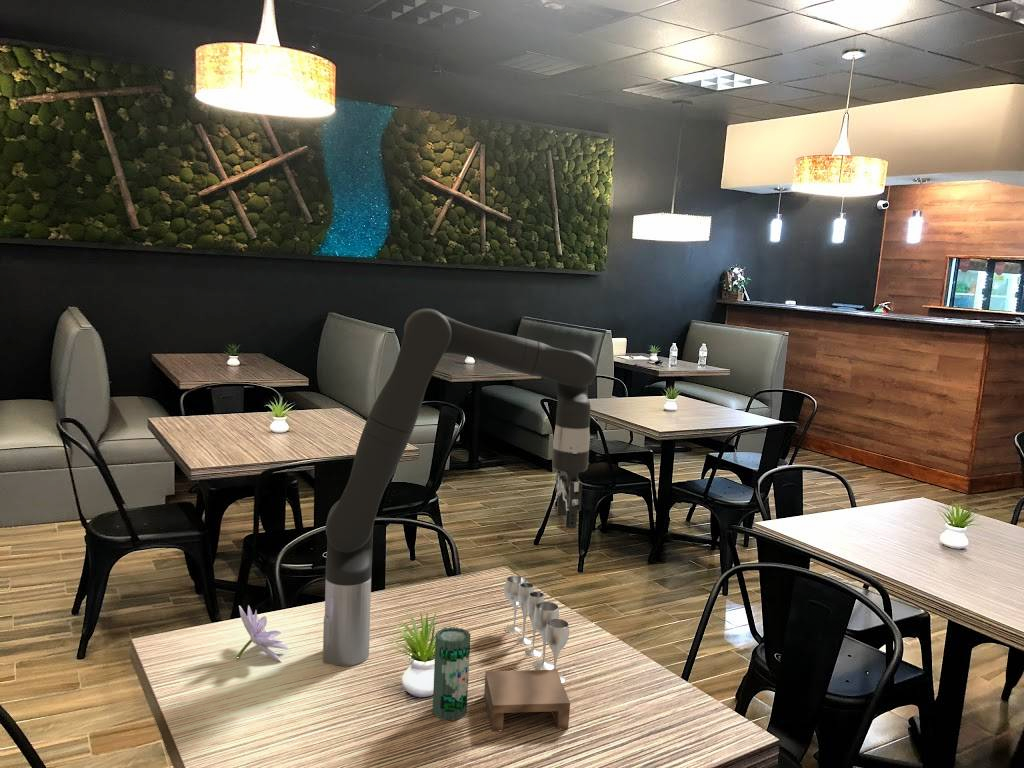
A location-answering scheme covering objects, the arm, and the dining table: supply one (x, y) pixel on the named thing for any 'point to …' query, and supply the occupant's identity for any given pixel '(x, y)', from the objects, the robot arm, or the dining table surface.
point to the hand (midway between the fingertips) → (566, 521)
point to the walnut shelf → (525, 695)
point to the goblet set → (537, 620)
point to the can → (451, 673)
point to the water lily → (260, 633)
